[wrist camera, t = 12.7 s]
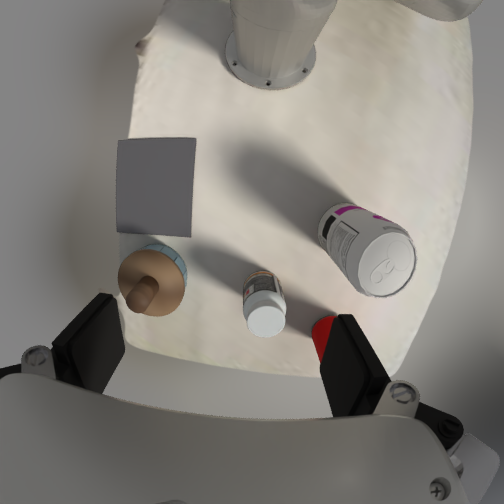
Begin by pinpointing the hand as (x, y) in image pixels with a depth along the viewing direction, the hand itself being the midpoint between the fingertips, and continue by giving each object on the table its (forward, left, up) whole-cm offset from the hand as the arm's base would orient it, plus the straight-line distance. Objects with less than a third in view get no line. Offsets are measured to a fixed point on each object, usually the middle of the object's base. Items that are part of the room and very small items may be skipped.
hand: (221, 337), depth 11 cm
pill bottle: (+11, +4, -28) cm, 31 cm away
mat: (-3, -13, -28) cm, 31 cm away
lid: (+10, -12, -24) cm, 29 cm away
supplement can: (+1, +15, -28) cm, 32 cm away
